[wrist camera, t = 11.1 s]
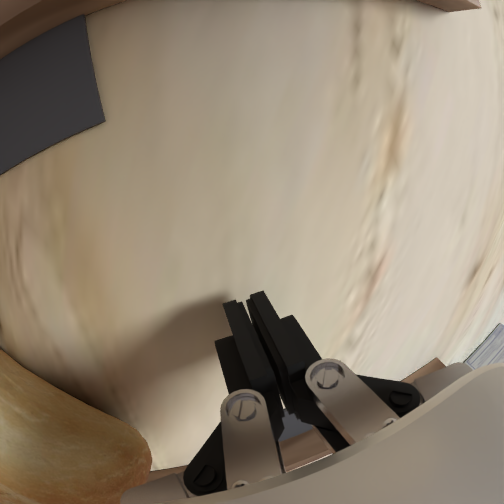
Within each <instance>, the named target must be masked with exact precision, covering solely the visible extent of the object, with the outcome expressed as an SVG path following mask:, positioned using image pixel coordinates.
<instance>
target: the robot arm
mask: <svg viewBox="0 0 504 504" xmlns="http://www.w3.org/2000/svg"><path fill="white" fill-rule="evenodd" d="M246 303H247V307H248V310H249V314H250V318H251V321H252V323H251V321H250V318H249V316H248V314H247V312H246V309H245V307H244V305H243V303H242V302H238V303H237V302H236V300H233V301H230V302H227V303H224V304H223V307H224V310H225V313H226V316H227V319H228V322H229V325H230V328H231V331H232V333H233V335H232V336H229V337H226V338H223V339H220V340H217V341H215V346H216V349H217V353H218V357H219V360H220V364H221V368H222V371H223V375H224V378H225V382H226V385H227V389H228V392H229V395H228V396H227V397H226V398H225V399H224V400H223V402H222V404H221V410H220V413H221V422H220V423H219V425H218V426H217V427H216V429H215V430H214V431H213V433H212V434H211V436H210V437H209V438H208V440H207V441H206V442H205V444H204V445H203V446H202V448H201V449H200V450H199V452H198V453H197V454H196V456H195V457H194V458H193V460H192V461H191V462H190V463H189V465H188V466H187V468H186V469H185V471H183V472H181V473H178V474H176V473H172V474H170V475H167V476H164V477H162V478H159V479H156V480H154V481H151V482H148V483H145V484H142V485H139V486H136V487H133V488H130V489H128V490H126V491H125V492H124V493H123V494H122V496H121V499H120V504H504V363H494V364H489V365H485V366H482V367H480V368H477V369H475V370H472V369H471V368H470V367H469V365H467V364H465V363H459V362H458V363H454V364H451V365H449V366H447V367H444V368H442V369H440V370H437V371H435V372H432V373H430V374H427V375H424V376H422V377H419V378H417V379H414V382H412V383H406V382H400V381H393V380H386V379H380V378H373V377H367V376H361V375H356V374H355V373H354V372H353V371H352V370H350V369H349V368H348V367H347V366H346V365H345V364H344V363H343V362H341V361H339V360H336V359H322V358H321V357H320V355H319V354H318V352H317V351H316V349H315V348H314V346H313V345H312V343H311V341H310V340H309V338H308V337H307V335H306V334H305V332H304V331H303V329H302V328H301V326H300V325H299V323H298V322H297V320H296V319H295V317H294V316H293V315H290V316H287V317H284V318H282V319H280V318H279V317H278V315H277V313H276V311H275V310H274V308H273V306H272V305H271V303H270V301H269V299H268V298H267V296H266V294H265V293H264V291H260V292H257V293H254V294H251V295H250V299H248V300H246ZM279 394H280V395H279ZM280 397H281V398H280ZM281 399H282V401H283V403H284V405H285V407H286V410H287V412H288V414H289V415H291V414H295V416H296V418H297V420H298V419H300V420H301V422H303V423H307V424H310V425H311V426H312V428H313V430H314V431H315V432H316V433H317V435H318V436H319V437H320V439H321V440H322V441H323V442H324V444H325V445H326V446H327V448H328V449H329V450H330V451H331V453H332V455H330V456H327V457H325V458H323V459H321V460H318V461H316V462H313V463H311V464H308V465H306V466H303V467H301V468H298V469H295V470H293V471H290V472H287V473H286V470H285V465H284V461H283V456H282V452H281V447H280V443H279V438H280V436H281V434H282V432H283V431H284V429H285V427H284V424H283V420H282V418H283V417H285V414H284V410H283V406H282V402H281Z"/></svg>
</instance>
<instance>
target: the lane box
mask: <svg viewBox="0 0 504 504" xmlns="http://www.w3.org/2000/svg"><path fill="white" fill-rule="evenodd" d="M123 1H127V0H0V59H2V58H3V57H5V56H6V55H8V54H9V53H11V52H12V51H14V50H15V49H17V48H18V47H20V46H22V45H23V44H25V43H27V42H28V41H30V40H32V39H33V38H35V37H37V36H39V35H41V34H43V33H44V32H46V31H48V30H50V29H52V28H54V27H56V26H58V25H60V24H62V23H64V22H66V21H68V20H71V19H73V18H75V17H77V16H80V15H82V14H84V15H88V14H90V13H93V12H95V11H98V10H100V9H103V8H106V7H109V6H111V5H114V4H117V3H120V2H123ZM417 1H420V2H423V3H426V4H429V5H431V6H434V7H437V8H440V9H442V10H445V11H447V12H454V11H461V10H469V9H479V8H481V5H480V2H479V0H417ZM444 367H446V366H445V365H444V364H443V363H442V362H441V361H440V360H439V359H438V358H435V359H434V360H432V361H431V362H430V363H428V364H427V365H425V366H424V367H422V368H421V369H419V370H418V371H416V372H415V373H413V374H412V375H410V376H408V377H407V378H405V379H404V380H402V381H400V382H406V383H412V382H414V379H417V378H419V377H422V376H424V375H427V374H430V373H432V372H435V371H437V370H440V369H442V368H444ZM279 443H280V447H281V452H282V456H283V461H284V465H285V470H286V471H289V470H292V469H295V468H297V467H300V466H302V465H305V464H307V463H310V462H312V461H315V460H317V459H320V458H322V457H324V456H326V455H329V454H331V451H330V450H329V449H328V448H327V446H326V445H325V444H324V442H323V441H322V440H321V439H320V437H319V436H318V435H317V433H316V432H315V431H314V430H313V429H311V430H309V431H307V432H304V433H302V434H299V435H297V436H294V437H291V438H289V439H286V440H283V441H281V442H279ZM187 466H188V465H187ZM187 466H182V467H177V468H171V469H165V470H158V471H151V472H150V473H149V476H148V479H147V482H146V483H148V482H151V481H154V480H156V479H159V478H162V477H164V476H167V475H170V474H172V473H176V474H178V473H181V472H183V471H185V469H186V468H187Z"/></svg>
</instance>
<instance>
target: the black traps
mask: <svg viewBox="0 0 504 504" xmlns="http://www.w3.org/2000/svg"><path fill="white" fill-rule="evenodd" d="M103 122H105V117H104V114H103V110H102V105H101V101H100V97H99V93H98V88H97V84H96V79H95V74H94V69H93V64H92V59H91V53H90V48H89V42H88V36H87V29H86V22H85V15H84V14H82V15H80V16H77V17H75V18H73V19H71V20H68V21H66V22H64V23H62V24H60V25H58V26H56V27H54V28H52V29H50V30H48V31H46V32H44V33H43V34H41V35H39V36H37V37H35V38H33V39H32V40H30V41H28V42H27V43H25V44H23V45H22V46H20V47H18V48H17V49H15V50H14V51H12V52H11V53H9V54H8V55H6V56H5V57H3V58H2V59H0V175H1V174H2V173H4V172H5V171H7V170H9V169H10V168H12V167H14V166H15V165H17V164H19V163H20V162H22V161H24V160H26V159H27V158H29V157H31V156H33V155H35V154H36V153H38V152H40V151H42V150H44V149H46V148H48V147H50V146H52V145H54V144H56V143H58V142H60V141H62V140H64V139H66V138H68V137H70V136H72V135H75V134H77V133H79V132H81V131H84V130H86V129H88V128H90V127H93V126H95V125H98V124H100V123H103ZM284 414H285V417H283V418H282V420H283V424H284V427H285V429H284V431H283V432H282V434H281V436H280V438H279V442H281V441H283V440H286V439H289V438H291V437H294V436H297V435H299V434H302V433H304V432H307V431H309V430H311V429H313V428H312V426H311V425H310V424H307V423H303V422H301V420H300V419H298V420H297V418H296V416H295V414H291V415H289V414H288V412H287V410H286V409H284Z"/></svg>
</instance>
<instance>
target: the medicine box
mask: <svg viewBox="0 0 504 504" xmlns="http://www.w3.org/2000/svg"><path fill="white" fill-rule="evenodd" d="M464 363H465V364H467V365H469V367H470V368H471V369H472V370H475V369H477V368H480V367H482V366H485V365H489V364H494V363H504V325H503V324H502V323H500V324H499V325H498V326H497V327H496V328H495V330H494V331H493V332H492V333H491V334H490V335H489V336H488V338H487V339H486V340H485V341H484V342H483V343H482V344H481V345H480V346H479V348H478V349H477V350H476V351H475V352H474V353H473V354H472V355H471V356H470V357H469V358H468V359H467V360H466V361H465V362H464Z"/></svg>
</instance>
